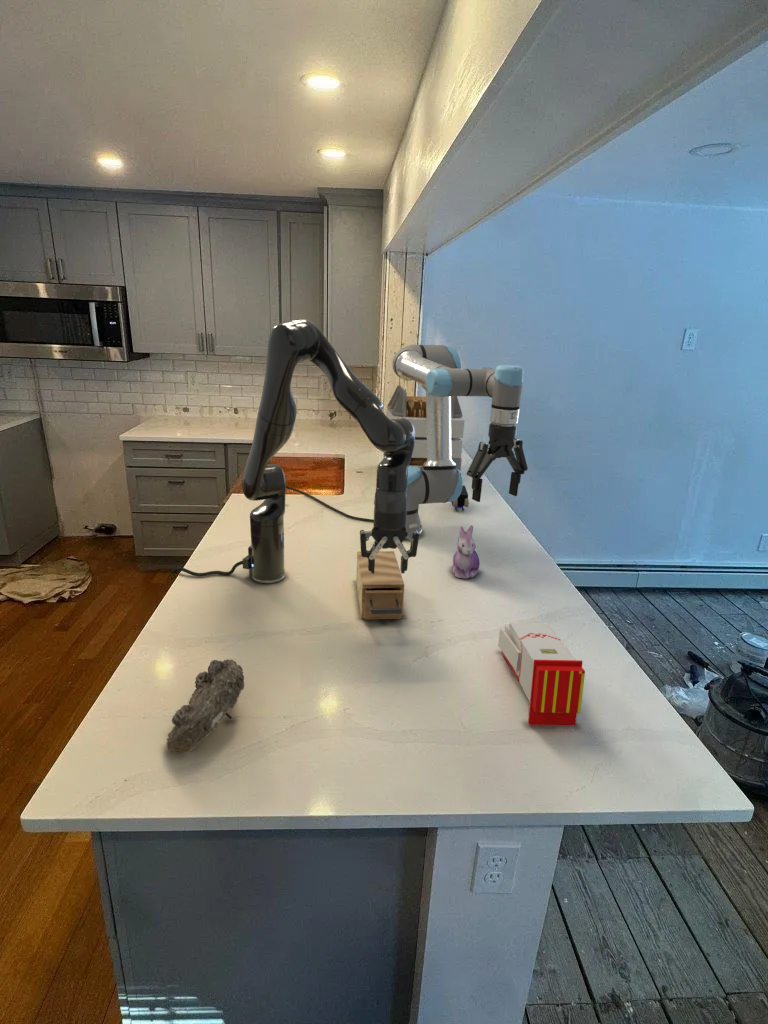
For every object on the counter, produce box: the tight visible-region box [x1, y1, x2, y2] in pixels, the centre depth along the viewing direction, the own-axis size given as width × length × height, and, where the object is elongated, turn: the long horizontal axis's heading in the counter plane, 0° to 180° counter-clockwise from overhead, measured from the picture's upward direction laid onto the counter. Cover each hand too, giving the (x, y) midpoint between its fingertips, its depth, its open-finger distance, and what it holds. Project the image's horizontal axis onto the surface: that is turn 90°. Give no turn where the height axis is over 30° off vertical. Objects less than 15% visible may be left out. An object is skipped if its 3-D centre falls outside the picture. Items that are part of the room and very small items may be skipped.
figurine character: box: [450, 485, 470, 512], centre depth 229 cm, size 7×8×15 cm
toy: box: [497, 621, 586, 727], centre depth 121 cm, size 12×13×30 cm
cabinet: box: [355, 550, 405, 619], centre depth 153 cm, size 20×11×10 cm, turn 6°
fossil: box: [166, 658, 245, 754], centre depth 106 cm, size 22×10×15 cm
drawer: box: [363, 588, 404, 621], centre depth 148 cm, size 25×9×8 cm, turn 6°
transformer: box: [383, 384, 465, 472], centre depth 268 cm, size 34×33×41 cm
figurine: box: [451, 524, 481, 580], centre depth 170 cm, size 9×10×15 cm
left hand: (387, 571), depth 135 cm, fingers open, 6 cm apart
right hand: (494, 497), depth 162 cm, fingers open, 13 cm apart
